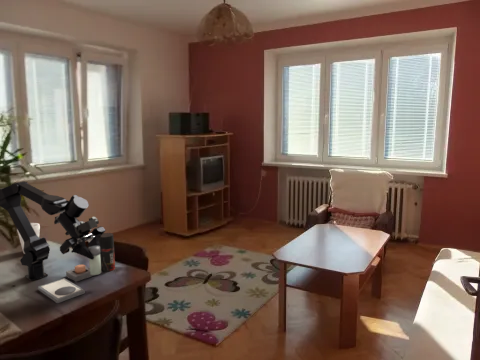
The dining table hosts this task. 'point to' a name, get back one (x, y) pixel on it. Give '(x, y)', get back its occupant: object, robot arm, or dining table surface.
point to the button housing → (75, 277)
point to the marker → (95, 260)
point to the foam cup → (36, 228)
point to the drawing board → (61, 290)
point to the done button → (80, 269)
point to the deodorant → (107, 252)
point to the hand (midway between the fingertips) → (97, 256)
